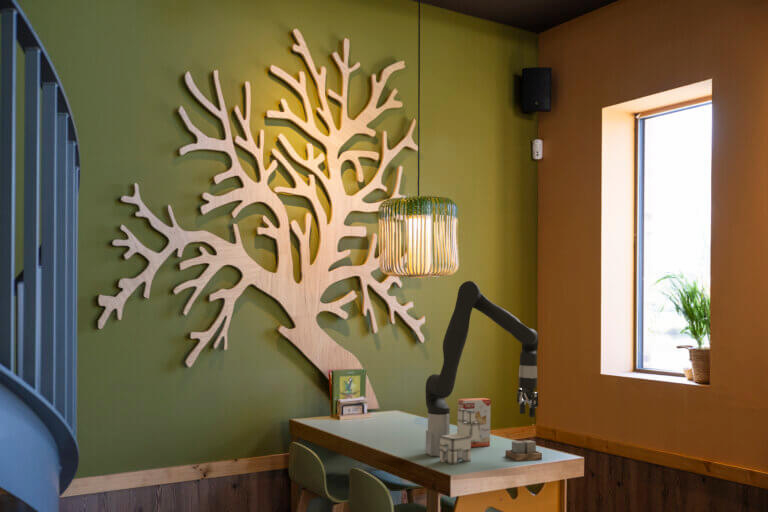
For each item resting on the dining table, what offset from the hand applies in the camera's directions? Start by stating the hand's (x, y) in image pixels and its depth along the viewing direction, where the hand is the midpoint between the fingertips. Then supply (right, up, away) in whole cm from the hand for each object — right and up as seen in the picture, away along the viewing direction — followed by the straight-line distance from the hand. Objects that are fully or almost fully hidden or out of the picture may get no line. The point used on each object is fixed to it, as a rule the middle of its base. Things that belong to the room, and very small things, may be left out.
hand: (527, 415), depth 306 cm
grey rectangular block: (-4, -17, -3) cm, 17 cm away
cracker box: (-20, -18, +20) cm, 34 cm away
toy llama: (-30, -17, -9) cm, 36 cm away
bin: (-2, -17, -2) cm, 17 cm away
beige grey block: (0, -17, -1) cm, 17 cm away
